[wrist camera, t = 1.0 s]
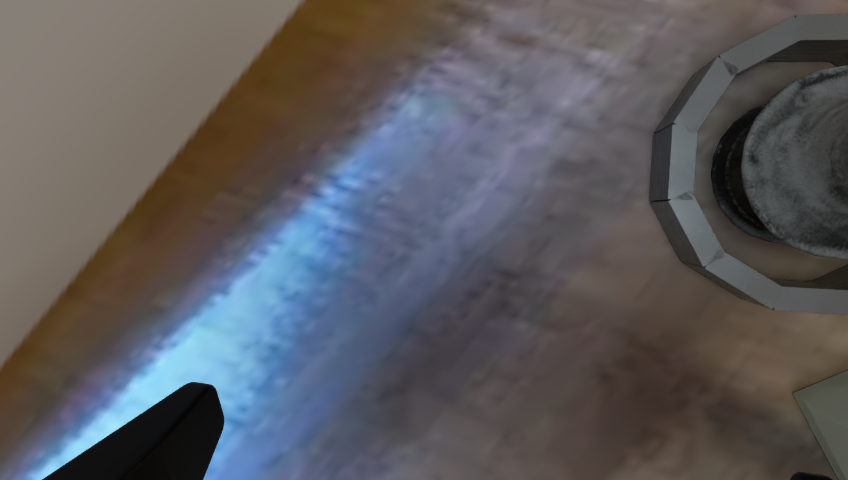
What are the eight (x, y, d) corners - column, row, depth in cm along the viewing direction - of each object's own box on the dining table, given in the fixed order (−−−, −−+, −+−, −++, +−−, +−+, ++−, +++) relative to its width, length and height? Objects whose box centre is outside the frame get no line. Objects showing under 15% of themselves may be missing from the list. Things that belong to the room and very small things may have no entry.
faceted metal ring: (987, 227, 19) (1058, 229, 17) (724, 343, 21) (753, 361, 18) (855, -12, 19) (906, -45, 17) (606, 120, 21) (618, 108, 18)
